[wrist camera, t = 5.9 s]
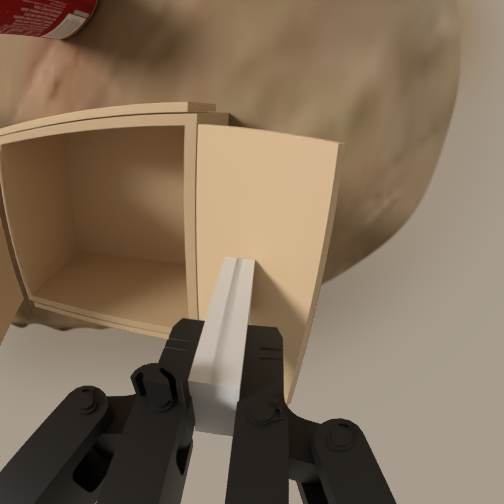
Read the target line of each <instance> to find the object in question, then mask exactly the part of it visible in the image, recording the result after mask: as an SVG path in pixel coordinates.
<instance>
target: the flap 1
mask: <svg viewBox="0 0 504 504" xmlns="http://www.w3.org/2000/svg"><path fill="white" fill-rule="evenodd" d="M23 300H24V297H23V295H22V292H21V289H20V286H19V283H18V280H17V277H16V274H15V271H14V267H13V264H12V261H11V257H10V254H9V250H8V246H7V242H6V238H5V234H4V230H3V225H2V221H1V216H0V345H1V343H2V340H3V338H4V336H5V334H6V332H7V330H8V328H9V326H10V324H11V322H12V320H13V318H14V316H15V314H16V313H17V311H18V309H19V307H20V305H21V303H22V301H23Z"/></svg>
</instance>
